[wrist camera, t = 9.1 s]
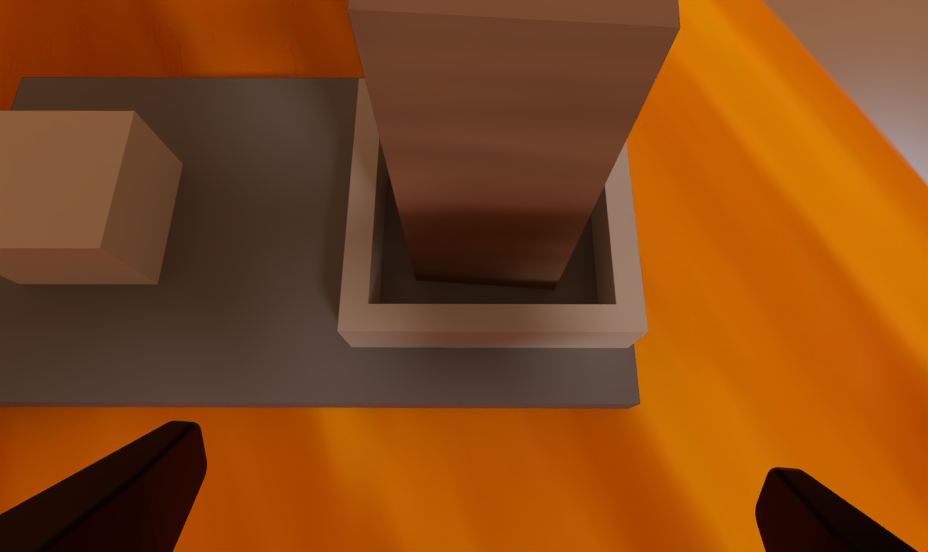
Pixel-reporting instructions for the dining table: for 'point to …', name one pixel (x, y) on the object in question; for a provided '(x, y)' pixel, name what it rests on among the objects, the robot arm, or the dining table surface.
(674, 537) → the dining table surface
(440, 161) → the walnut post
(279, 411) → the dining table surface
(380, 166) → the base board
